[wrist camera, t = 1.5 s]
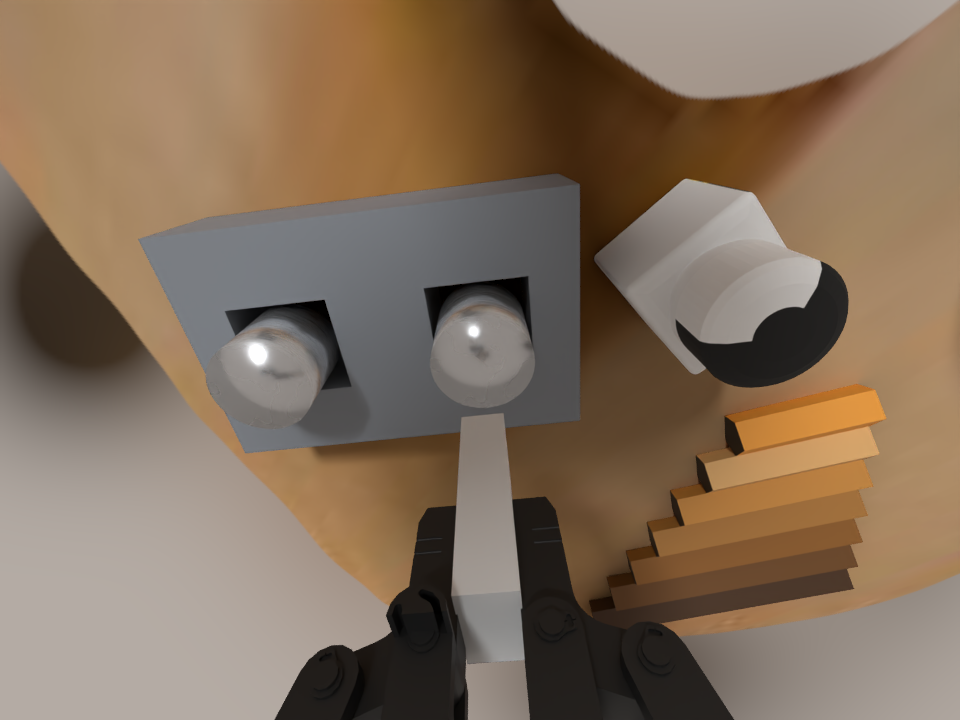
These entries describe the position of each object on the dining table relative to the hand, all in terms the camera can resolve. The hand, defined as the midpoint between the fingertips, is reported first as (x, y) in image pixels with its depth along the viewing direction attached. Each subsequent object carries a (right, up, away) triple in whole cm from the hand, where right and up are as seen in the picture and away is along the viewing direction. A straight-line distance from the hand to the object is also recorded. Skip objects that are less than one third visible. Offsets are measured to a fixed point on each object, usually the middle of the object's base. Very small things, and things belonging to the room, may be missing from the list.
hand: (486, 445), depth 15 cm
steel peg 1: (-11, +4, +10) cm, 15 cm away
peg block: (-6, +7, +14) cm, 16 cm away
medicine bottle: (+12, +10, +13) cm, 20 cm away
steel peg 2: (0, +5, +9) cm, 11 cm away
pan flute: (+21, -12, +25) cm, 35 cm away
